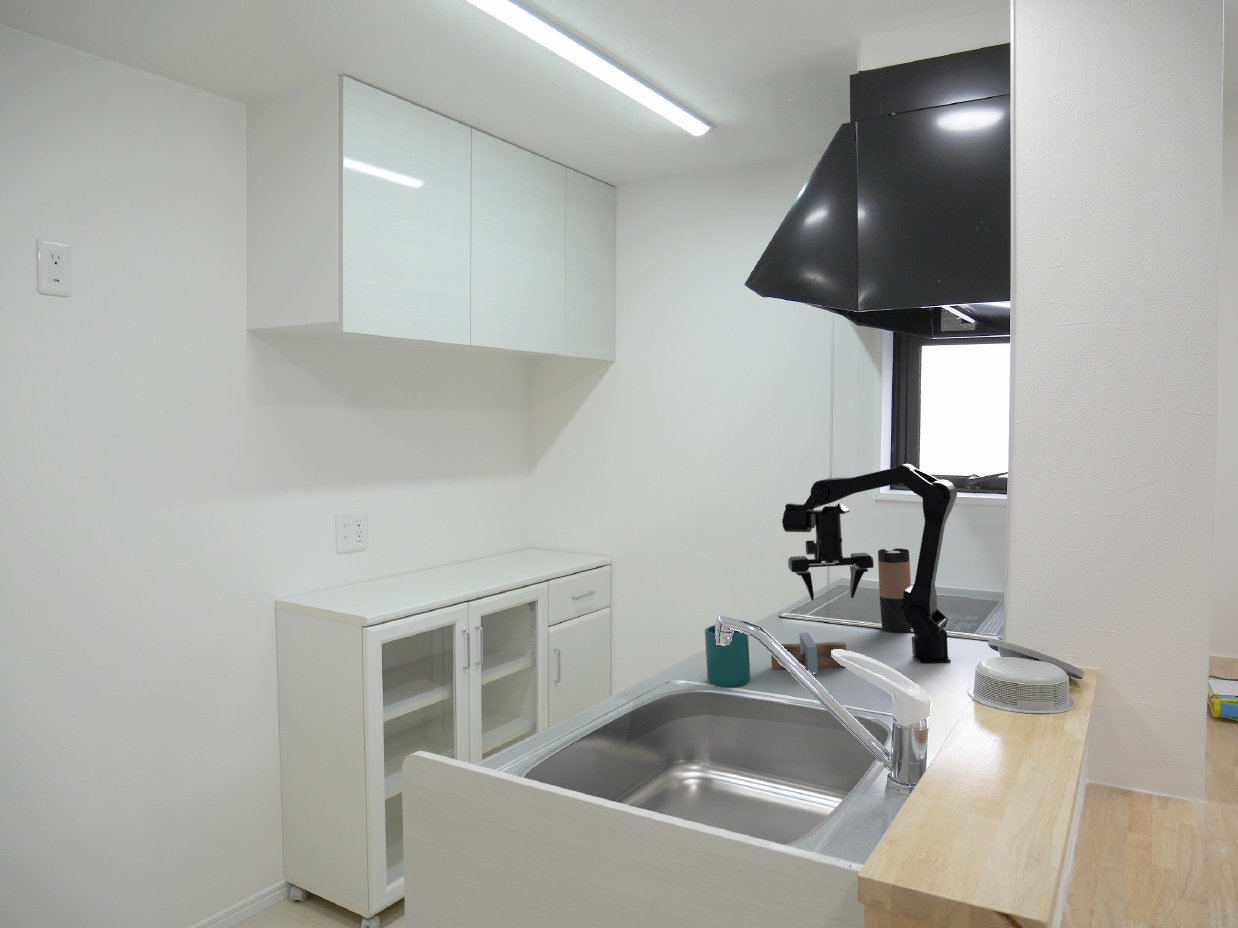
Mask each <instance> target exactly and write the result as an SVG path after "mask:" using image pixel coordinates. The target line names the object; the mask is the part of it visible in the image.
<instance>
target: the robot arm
mask: <svg viewBox="0 0 1238 928" xmlns="http://www.w3.org/2000/svg"><path fill="white" fill-rule="evenodd" d="M897 484H902V485H903V486H906V487H907V488H908V489H909V490H910V491H911V492H913V493H914V494H916V496H919V497H921V498H922V513H923V517H924V518H923V519H924V525H923V530H922V537H921V543H920V550H919V554H918V560H917V566H916V571H915V579H914V583H913V585H911V586H910V587H908V588H907V589H906V590H904V593H903V604H902V606H901V607H900V609H903V608H904V609H903V616H904V618H905V619H906V621H907V622H908V623H909V624H911V626H912V631H913V636H911V650H912V653H911V654H912V656H913V655H914V656H915V657H916V658H917V659H918V660H919V661H920V662H919V661H918V660H917V659H916V658H915V657H914V656H913V657H914V658H915V659H916V660H917V661H918V662H919V663H921V664H926V663H951V662H952V661H951V658H950V657H949V652H948V651H949V649H948V632H947V631H946V630H945V628H946V626H947V624H948V621H949V618H948V617H947V616H945V615H944V614H943V612H941V611H940V610H939V609H938V596H937V590H936V579H937V575H938V573H937V572H938V566H939V562H940V555H941V550H942V545H943V540H944V539H943V538H944V534H945V526H946V522H947V520H948V518H949V516H950V514H951V512H952V509H953V507H954V504H955V502H956V499H957V497H958V496H957V495H958V491H957V488H956V486H955V485H954V483H952V482H950V481H949V480H947V479H939V478H937V477H935V476H932V475H931V474H929V473H926V472H925V471H923V470H920V469H918V468H916V467H915V466H913V465H912V464H909V463H905V464H900V465H898V466H897V467H892V468H887V469H883V470H879V471H874V472H870V473H866V474H862V475H858V476H853V477H851V476H850V477H832V478H831V477H828V478H825V479H821V480H818V481H815V482H814V483H813V484H812V486H811V489H810V494H809V496H808V497H807V500H806V501H805V502H804V503H803V504H800V503H799V504H798V503H797V504H796V503H786V504H785V506H784V507H785V510H784V512H783V514H782V515H783V516H782V518H781V521H782V528H783V531H784V532H786V533H811V532H812V530H813V529H814V528H815V537H816V538H815V541H814V539H813V540H806V541H805V554H806V555H808V556H809V555H813V557H814V559H811V558H807V556H806V555H800V556H798V555H797V556H790V557H789V558H788V561H787V563H788V565H787V566H788V569H789V570H790V571H791V573H795V574H796V575H797V576H801V579H802V580H803V583H804V584H805V586H806V589H807V593H808V595H809V597H810V600H811V601H814V597H815V595H814V588H813V581H812V580H813V579H812V572H811V571H810V570H809V569H810V568H821V567H823V568H824V567H839V566H841V567H842V566H849V570H850V587H849V595H850V599H854V597H855V594H856V592H857V590H858V586H859V583H860V582H861V579H862V577H863V575H864V574H865V573H867V572H869V569H873V568H874V564H875V563H874V558H873V557H872V556H871V554H868V553H867V552H855V553H853V552H851V553H850V556H847V557H844V555H843V544H842V543H843V537H842V524H841V515H844V514H848V513H849V512H850V509H849V508H847V507H846V506H845V505H844V504H843V503H842V502H839V501H840V500H843V499H844V498H847V497H849V496H851V495H853V494H857V493H861V492H867V491H870V490H874V489H879V488H880V489H881V488H884V487H888V486H893V485H897ZM835 502H839V503H837V504H836V505H835V506H834V505H833V506H831V505H830V506H829V505H828V504H832V503H835ZM822 506H823V508H822V509H821V510H820V509H819V510H818V509H817V508H820V507H822ZM815 509H816V510H815Z"/></svg>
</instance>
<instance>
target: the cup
mask: <svg viewBox="0 0 1238 928" xmlns="http://www.w3.org/2000/svg"><path fill="white" fill-rule="evenodd" d="M716 625H717V624H714V625H710V626H708V627H706V628H704V629H705V630H704V640H705V659H706V675H707V676H706V677H707V681H708V683H709V684H710V683H711V684H710V685H712V684H713V686H714V685H716V686H715V687H718V686H720V687H719V688H737V687H742V686H745V685H747V684H749V682H750V681H751V666H750V665H751V662H750V643H749V634H748V635H746V634H744V633H740V632H738V631H734V633H733V636H732V641H731V643H730V645H726V646H721V645H716V639H715V626H716Z"/></svg>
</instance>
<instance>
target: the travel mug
mask: <svg viewBox="0 0 1238 928" xmlns="http://www.w3.org/2000/svg"><path fill="white" fill-rule="evenodd" d="M910 558H911V557H910V550H909V549H907V548H899V547H898V548H897V547H896V548H893V549H891V550H887V549H885V548H881V549H879V550H878V551H877V564H878V592H879V593H878V595H879V605H880V606H879V607H880V608H879V609H880V618H881V628H882V631H884V632H887V633H893V634H902V633H908V632H909V633H910V632H911V631H912V630H913V629H912V626H911V624H909V623H908V622H907V621H906V619H905V618H904V616H903V609H904V608H903V609H900V607H901V606H902V604H903V593H904V590H906V589H907V588H908V587H910V586H912V580H911V578H912V576H911V562H910V561H911V559H910ZM911 629H912V630H911ZM910 630H911V631H910Z"/></svg>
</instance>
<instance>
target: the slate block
mask: <svg viewBox="0 0 1238 928" xmlns="http://www.w3.org/2000/svg"><path fill="white" fill-rule="evenodd" d="M815 643H816V642H814V640H813V638H812V637H811V635H810V633H809V632H799V644H800V647H801V655H805V667H806V669H807V670H809V671H810V672H811V673H812V674H813V672H815V673H816V674H818V675H819V668H818V663H817V647H816V645H815ZM806 669H805V670H806Z"/></svg>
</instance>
